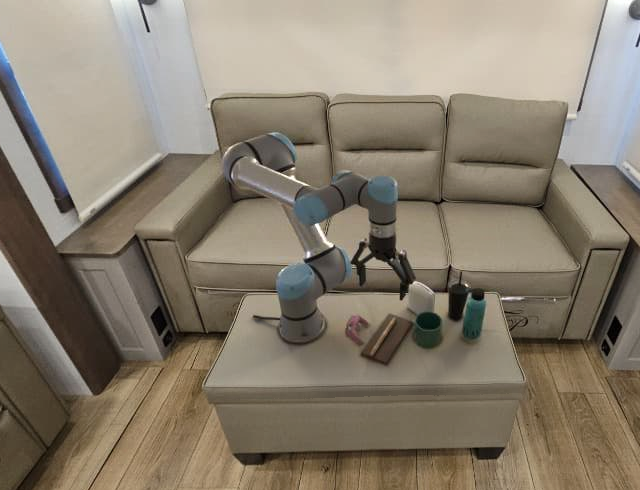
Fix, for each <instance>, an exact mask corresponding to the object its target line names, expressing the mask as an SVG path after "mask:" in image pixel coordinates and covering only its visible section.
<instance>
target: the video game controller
mask: <svg viewBox="0 0 640 490" xmlns="http://www.w3.org/2000/svg"><path fill="white" fill-rule="evenodd" d="M360 325H362V326H365V327H367V326H369V321H368V320H367V319H366V318H364V317H363V316H362V315H360V314H357V313H355V314H351V315H350V317H349V318H348V320H347V323H346V327H345V328H344V334H345V336H346V337H347V338H349V339H350V340H351V341H352V342H354V343H356V344H360V345H361V344H362V343H363V339H362V338H360V337H359V336H358V335H357V334H358V333H357V331H359V330H360Z"/></svg>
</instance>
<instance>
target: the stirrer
mask: <svg viewBox="0 0 640 490" xmlns="http://www.w3.org/2000/svg"><path fill="white" fill-rule="evenodd" d="M396 321H397V319H396V318H393V319H392V321H391V322H390V324H389V325H388V327H387V328H386V330H385V331H384V333H383V334H382V336H381V337H380V339H379V340H378V341H377V343H376V344H375V346H374V347H373V349H372V350H371V352H370V353H369V355H370V356H373V355H374V354H375V352H376V351H377V349H378V348H379V346H380V345H381V343H382V342H383V340H384V339H385V337H386V336H387V334H388V333H389V331H390V330H391V328H392V327H393V325H394V324H395V322H396Z"/></svg>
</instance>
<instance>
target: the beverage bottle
mask: <svg viewBox="0 0 640 490" xmlns="http://www.w3.org/2000/svg"><path fill="white" fill-rule="evenodd" d="M485 294H486V293H485V290H484V289H482V288H480V287H474V288H473V289H472V291H471V294H470V296H468V297H467V301H466V304H465V309H464V317H463V322H462V327H461V334H462V336H463V337H464V339H467V340H469V341H474V340H478V339H479V338H480V336H481V334H482V330H483V326H484V324H483V323H484V319H485V315H486V313H485V312H486V307H487V301H486V299H485Z"/></svg>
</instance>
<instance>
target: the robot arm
mask: <svg viewBox="0 0 640 490" xmlns="http://www.w3.org/2000/svg"><path fill="white" fill-rule="evenodd" d="M221 160H222V161H221V169H222V172H223V175H224V177H225V179H226V180H227V182H229V183H230V184H232V185H233V186H234V187H237V188H239V189H241V190H251V191H253V192H255V193H258V194H259V195H262V196H264V197H266V198H268V199H270V200H273V201H274V202H277V203H278V204H279V206H280V209H281V210H282V212H283V214H284V216H285V218H286V220H287V222H288V224H289V225H290V228H291V229H292V232H293V234H294V235H295V237H296V239H297V241H298V243H299V244H300V246H301V248H302V251H303V252H304V253H303V256H302V260H303V262H302V263H300V262H298V263H296V264H294V263H292V264H289V265H287V266H285V267H284V268H282V270H280V271H279V273H278V274H277V276H276V280H275V286H276V288H275V290H276V294H277V298H278V303H279V307H280V312H281V314H280V317H275V316H260V315H257V314H253V315H252V318H253V319H258V320H267V321H269V320H270V321H279V322H278V331H279V335H280V336H281V338H282V339H283V340H284V341H285V342H288V343H291V344H298V345H300V344H307V343H310V342H312V341H314V340H316V339H317V338H319V337H320V336H321V335H322V334H323V332H324V330H325V328H326V320H325V317H324V315H323V314H322V312H321V310H320V308H319V307H318V301H317V300H318V299H319V298H321V297H323V296H324V295H325V294H327V293H329V292H330V291H331V290H333V289H334V288H336V287H337V286H339V285H342V284H343V283H344V282H345V281H346V280H347V279H349V277H350V276H351V274H352V270H353V269H352V268H353V267H352V266H353V265H354V266H355V268H356V274H357V276H358V281H359V283H358V285H359V287H361V288H362V287H363V286H364V284H365V283H366V282H367V269H366V268H367V266H366V263H368V262H369V261H370V260H372V259H373V258H375V260H376V261H381V262H382V263H387V265H388V266H389V267H391V268H392V270H393V271H394V273H395V274H396V275H397V277H398V279H399V280H400V283H399V301H401V302H402V301H403V300H404V298H405V297H406V296H407V291H409V285H410V284H412V283H413V282H414V281H416V280H417V278H416V275H415V273H414V270H413V268H412V266H411V263H410V261H409V259H408V255H407V251H406V250H405V249H404V250H401V251H400V250H398V249H397V248H396V247H397V231H398V228H397V227H398V226H397V225H398V224H397V223H398V221H397V220H398V215H397V213H398V212H397V211H398V198H399V193H398V183H397V180H395V178H394V177H392V176H389V175H382V174H380V175H375V176H371V178H368V177H365V176H364V175H361V174H359V173H357V172H355V171H350V170H348V169H342V170H340V171H337V173H336V175H334V176H333V178H332V180H331V183H329V184H327V185H325V186H322V187H320V188H317V187H315V186H312V185H309V184H307V183H306V182H302V181H300V180H298V179H297V177H296V171H297V166H296V165H295V164H296V162H297V160H298V156H297V151H296V148H295V146H294V144H293V142H291V139H289V138H288V137H287V136H286V135H284V134H282V133H280V132H275V131H274V132H271V133H264V134H262V135H259V136H256V137H253V138H249V139H247V140H244V141H240V142H238V143H235V144H233V145H231V146H230V147H229V148H227V150H226V151H225V153H224V155H223V157H222V159H221ZM355 205H356V206H359V207H360V208H363V209H366V210H367V211H368V239H367V238H366V237H364V238H362V240H361V241H359V243H358V248H357V250H356V252H355V253H354V255H353V256H352V259H350V256H349V254H348V253H347V251H346V250H344V248H342V247H340V246H336V244H335V242H331V241H329V240H328V239H327V236H326V235H325V233H324V231H323V228H322V227H321V225H320V224H321V223H323V222H324V221H326V220H327V219H329V218H332V217H333V216H335V215H337V214H339V213H341V212H343V211H344V210H347V209H348V208H350V207H352V206H355ZM367 248H368V250H369V251H370V252H369V253H368V254H366V255H365V256H364V257H363V258H362V259H360V257H361V256H362V254H363V253H364V251H365V249H367ZM359 259H360V260H359Z"/></svg>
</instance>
